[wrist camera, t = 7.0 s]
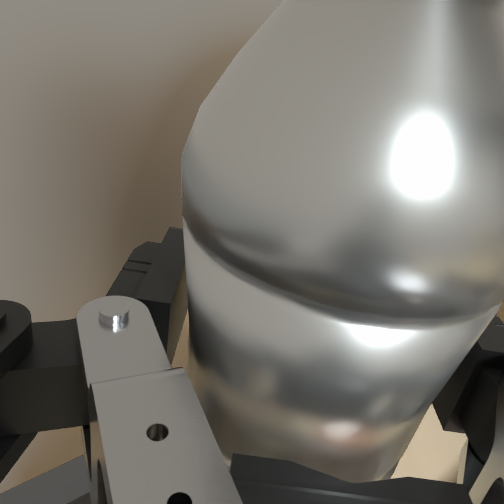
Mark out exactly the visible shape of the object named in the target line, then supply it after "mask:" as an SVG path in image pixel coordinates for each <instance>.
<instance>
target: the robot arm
mask: <svg viewBox="0 0 504 504" xmlns="http://www.w3.org/2000/svg"><path fill="white" fill-rule="evenodd" d="M187 309H188V297H187V281H186V265H185V250H184V234H183V229H181V228H175V227H169V229H168V231H167V233H166V235H165V237H164V239H163V241H162V243H154V242H145V243H144V244H142V245H140V246H139V247H137V248H135V249H134V250H133V252H132V254H131V255H130V257H129V258H128V261H127V262H126V263H125V265H124V266H123V268H122V270H121V271H120V273H119V275H118V276H117V278H116V280H115V281H114V283H113V285H112V286H111V288H110V290H109V291H108V293H107V295H106V296H105V297H101V298H97V299H94V300H91V301H89V302H87V303H86V304H85V305H83V306H82V307H81V308H80V309H79V311H78V313H77V318H75V319H71V320H65V321H54V322H36V323H32V322H31V314H30V311H29V310H28V309H27V308H26V307H25V306H23V305H22V304H19V303H16V302H13V301H7V300H0V483H1V482H2V480H3V479H4V478H5V476H6V475H7V474H8V472H9V471H10V470H11V468H12V467H13V466H14V464H15V463H16V461H17V460H18V459H19V457H20V456H21V455H22V453H23V452H24V451H25V449H26V448H27V447H28V445H29V444H30V443H31V441H32V440H33V439H34V437H35V436H36V434H37V433H38V432H40V431H47V430H55V429H62V428H69V427H77V426H81V432H82V439H83V446H84V454H85V461H86V468H87V475H88V483H89V490H90V498H91V504H504V323H503V322H502V321H501V320H500V318H499V317H496V315H497V314H496V315H495V316H494V318H493V319H492V320H491V322H490V323H489V324H488V326H487V327H486V329H485V330H484V331H483V333H482V334H481V336H480V337H479V338H478V340H477V341H476V343H475V344H474V345H473V347H472V348H471V349H470V351H469V352H468V354H467V355H466V356H465V358H464V359H463V361H462V362H461V363H460V365H459V366H458V368H457V369H456V370H455V372H454V373H453V374H452V376H451V377H450V379H449V380H448V381H447V383H446V384H445V386H444V387H443V388H442V390H441V391H440V393H439V394H438V395H437V397H436V398H435V399H434V401H433V402H432V404H433V406H434V409H435V411H436V414H437V416H438V418H439V421H440V423H441V425H442V428H443V430H444V431H451V432H458V433H466V435H467V437H468V438H467V440H466V442H465V444H464V445H463V447H462V449H461V453H460V460H459V468H458V475H457V482H456V483H450V482H443V481H435V480H428V479H421V478H413V477H403V478H395V479H387V480H378V481H370V482H361V483H351V482H347V481H344V480H341V479H338V478H336V477H333V476H330V475H328V474H325V473H322V472H319V471H317V470H314V469H311V468H308V467H306V466H303V465H300V464H297V463H295V462H292V461H287V460H280V459H272V458H265V457H258V456H250V455H243V454H235V453H233V454H232V460H231V465H230V470H228V468H227V465H226V463H225V461H224V458H223V456H222V453H221V451H220V449H219V446H218V444H217V442H216V439H215V437H214V435H213V432H212V430H211V428H210V425H209V423H208V421H207V418H206V416H205V414H204V411H203V409H202V407H201V404H200V402H199V400H198V397H197V395H196V393H195V390H194V388H193V386H192V383H191V381H190V379H189V376H188V374H187V372H186V371H185V369H184V368H183V367H178V368H171V364H172V361H173V357H174V354H175V350H176V347H177V343H178V340H179V337H180V333H181V330H182V326H183V323H184V319H185V316H186V313H187Z"/></svg>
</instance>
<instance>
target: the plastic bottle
mask: <svg viewBox="0 0 504 504" xmlns="http://www.w3.org/2000/svg"><path fill="white" fill-rule="evenodd" d="M181 207H182V216H183V218H182V219H183V234H184V250H185V265H186V281H187V297H188V312H189V342H188V364H187V374H188V376H189V379H190V381H191V383H192V386H193V388H194V390H195V393H196V395H197V397H198V400H199V402H200V404H201V407H202V409H203V411H204V414H205V416H206V418H207V421H208V423H209V425H210V428H211V430H212V432H213V435H214V437H215V439H216V442H217V444H218V446H219V449H220V451H221V453H222V456H223V458H224V461H225V463H226V465H227V468H228V470H230V465H231V460H232V454H233V453H235V454H243V455H250V456H258V457H265V458H272V459H280V460H287V461H292V462H295V463H297V464H300V465H303V466H306V467H308V468H311V469H314V470H317V471H319V472H322V473H325V474H328V475H330V476H333V477H336V478H338V479H341V480H344V481H347V482H351V483H361V482H370V481H378V480H387V479H390V478H391V477H392V475H393V473H394V471H395V469H396V466H397V464H398V462H399V460H400V458H401V457H402V456H403V454H404V453H405V451H406V449H407V447H408V445H409V443H410V441H411V440H412V438H413V436H414V434H415V432H416V430H417V428H418V427H419V425H420V423H421V421H422V419H423V417H424V415H425V414H426V412H427V410H428V408H429V406H430V405H431V404H432V402H433V401H434V399H435V398H436V397H437V395H438V394H439V393H440V391H441V390H442V388H443V387H444V386H445V384H446V383H447V381H448V380H449V379H450V377H451V376H452V374H453V373H454V372H455V370H456V369H457V368H458V366H459V365H460V363H461V362H462V361H463V359H464V358H465V356H466V355H467V354H468V352H469V351H470V349H471V348H472V347H473V345H474V344H475V343H476V341H477V340H478V338H479V337H480V336H481V334H482V333H483V331H484V330H485V329H486V327H487V326H488V324H489V323H490V322H491V320H492V319H493V318H494V316H495V315H496V313H497V312H498V311H499V309H500V307H501V304H502V301H503V300H504V0H283V1H282V2H281V4H280V5H279V6H278V7H277V8H276V9H275V11H274V12H273V13H272V14H271V15H270V16H269V18H268V19H267V20H266V21H265V22H264V23H263V24H262V26H261V27H260V28H259V29H258V30H257V31H256V33H255V34H254V35H253V36H252V37H251V38H250V40H249V41H248V42H247V43H246V44H245V45H244V46H243V48H242V49H241V50H240V51H239V52H238V54H237V55H236V56H235V58H234V59H233V61H232V62H231V64H230V65H229V66H228V68H227V69H226V71H225V72H224V73H223V75H222V76H221V78H220V79H219V80H218V82H217V83H216V85H215V86H214V88H213V89H212V90H211V92H210V93H209V95H208V96H207V97H206V99H205V100H204V102H203V103H202V105H201V106H200V108H199V111H198V114H197V116H196V119H195V121H194V124H193V127H192V129H191V132H190V135H189V137H188V140H187V143H186V146H185V148H184V151H183V153H182V184H181Z"/></svg>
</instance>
